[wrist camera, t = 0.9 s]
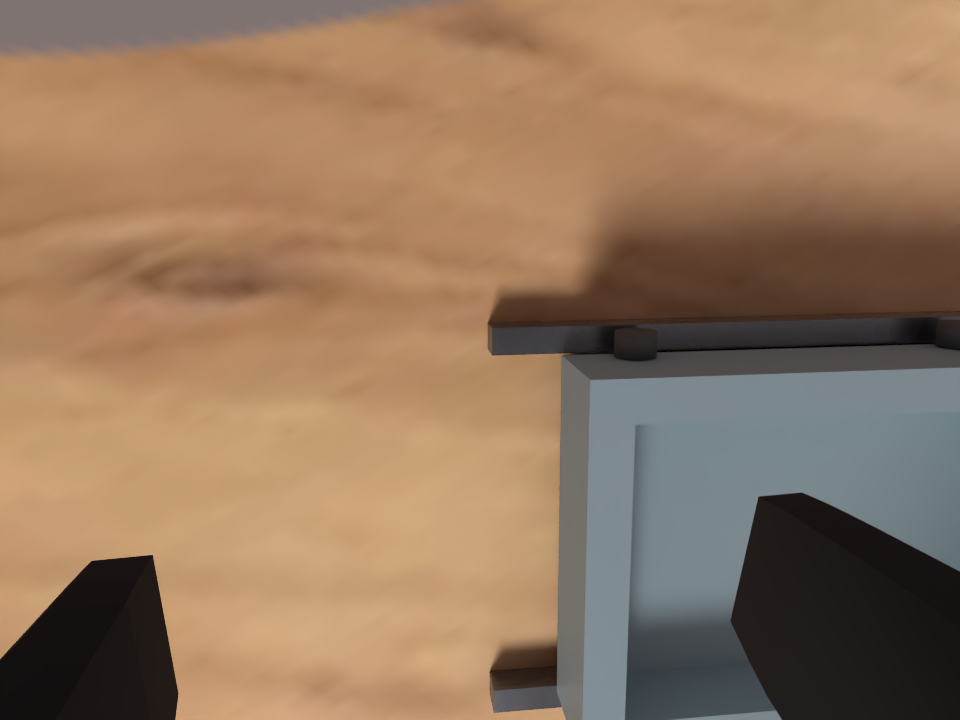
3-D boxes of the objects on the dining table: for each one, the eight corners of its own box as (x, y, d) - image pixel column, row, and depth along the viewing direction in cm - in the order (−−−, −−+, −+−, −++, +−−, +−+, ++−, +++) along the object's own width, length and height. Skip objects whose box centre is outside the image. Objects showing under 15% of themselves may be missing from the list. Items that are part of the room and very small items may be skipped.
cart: (956, 678, 25) (1036, 745, 22) (556, 712, 24) (580, 788, 21) (1006, 318, 23) (1103, 335, 20) (562, 329, 21) (591, 350, 18)
